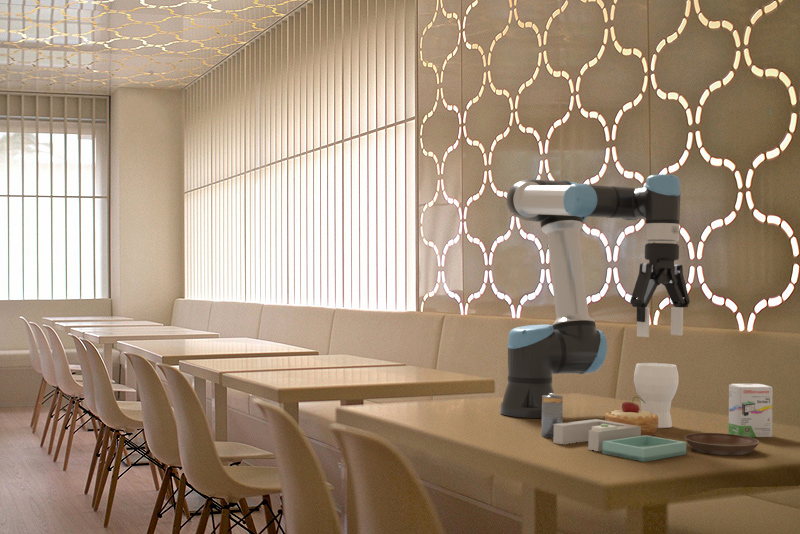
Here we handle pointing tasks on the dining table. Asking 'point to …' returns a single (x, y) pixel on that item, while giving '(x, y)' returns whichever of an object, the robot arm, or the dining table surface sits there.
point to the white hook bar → (593, 432)
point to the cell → (551, 413)
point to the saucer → (721, 443)
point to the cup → (657, 389)
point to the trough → (644, 448)
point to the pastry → (634, 417)
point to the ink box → (750, 410)
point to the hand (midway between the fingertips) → (660, 336)
